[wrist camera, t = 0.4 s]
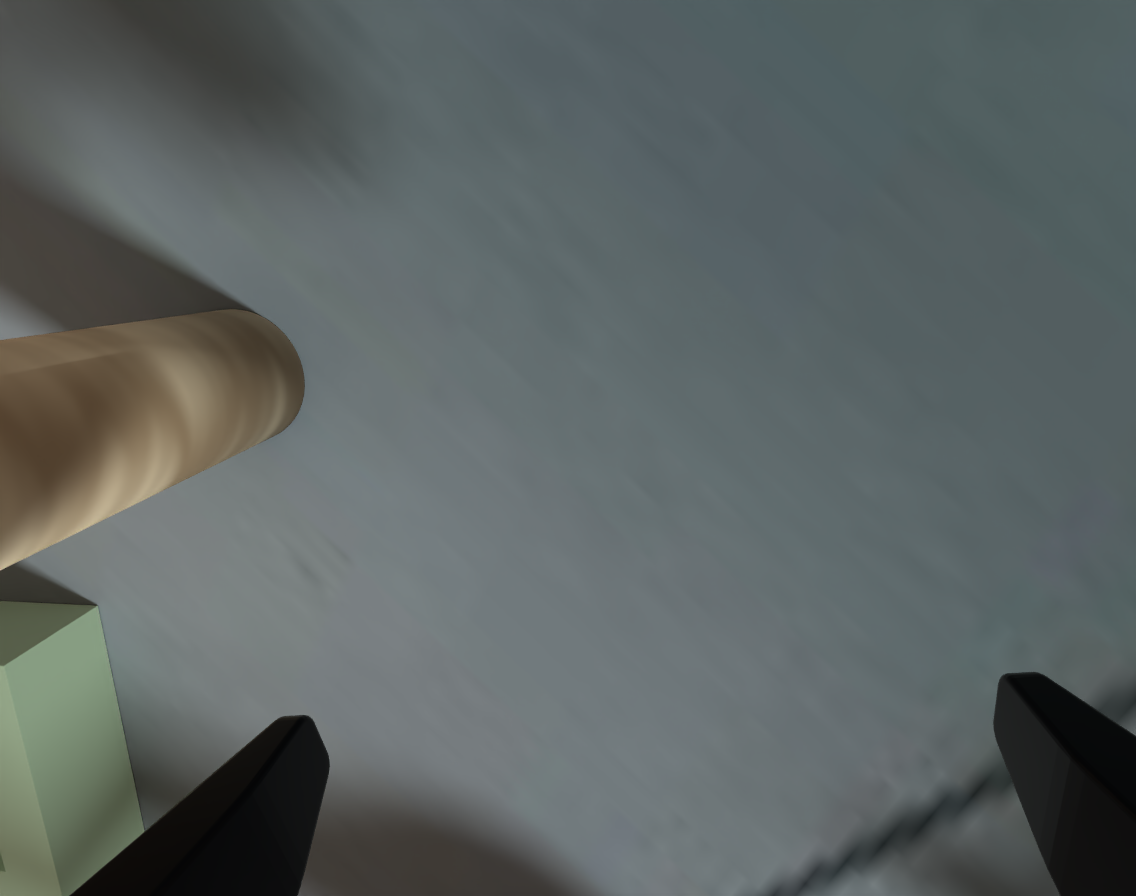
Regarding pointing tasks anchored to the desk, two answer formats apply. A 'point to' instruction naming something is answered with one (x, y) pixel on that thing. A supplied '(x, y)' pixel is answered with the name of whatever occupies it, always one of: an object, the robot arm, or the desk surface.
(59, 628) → the pale green square holder
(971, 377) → the desk surface
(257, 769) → the robot arm
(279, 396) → the beige ridged cylinder
